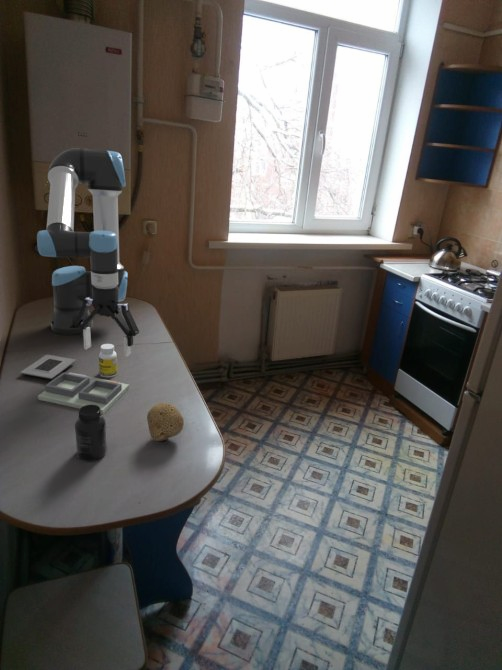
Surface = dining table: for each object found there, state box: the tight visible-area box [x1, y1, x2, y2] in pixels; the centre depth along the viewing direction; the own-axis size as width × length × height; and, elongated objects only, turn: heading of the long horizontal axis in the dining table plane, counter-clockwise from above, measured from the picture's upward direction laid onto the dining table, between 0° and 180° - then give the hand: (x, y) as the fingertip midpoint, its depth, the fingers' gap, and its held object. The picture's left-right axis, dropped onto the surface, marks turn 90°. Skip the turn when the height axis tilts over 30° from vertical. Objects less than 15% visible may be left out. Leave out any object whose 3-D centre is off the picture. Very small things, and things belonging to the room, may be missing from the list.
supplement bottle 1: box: [74, 405, 108, 462], centre depth 106 cm, size 7×7×12 cm
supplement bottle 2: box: [98, 343, 118, 378], centre depth 141 cm, size 5×5×10 cm
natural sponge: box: [146, 402, 184, 442], centre depth 113 cm, size 9×9×10 cm
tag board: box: [37, 371, 130, 415], centre depth 131 cm, size 15×20×3 cm
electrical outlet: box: [19, 354, 77, 380], centre depth 142 cm, size 13×10×2 cm
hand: (107, 351), depth 140 cm, fingers open, 13 cm apart
